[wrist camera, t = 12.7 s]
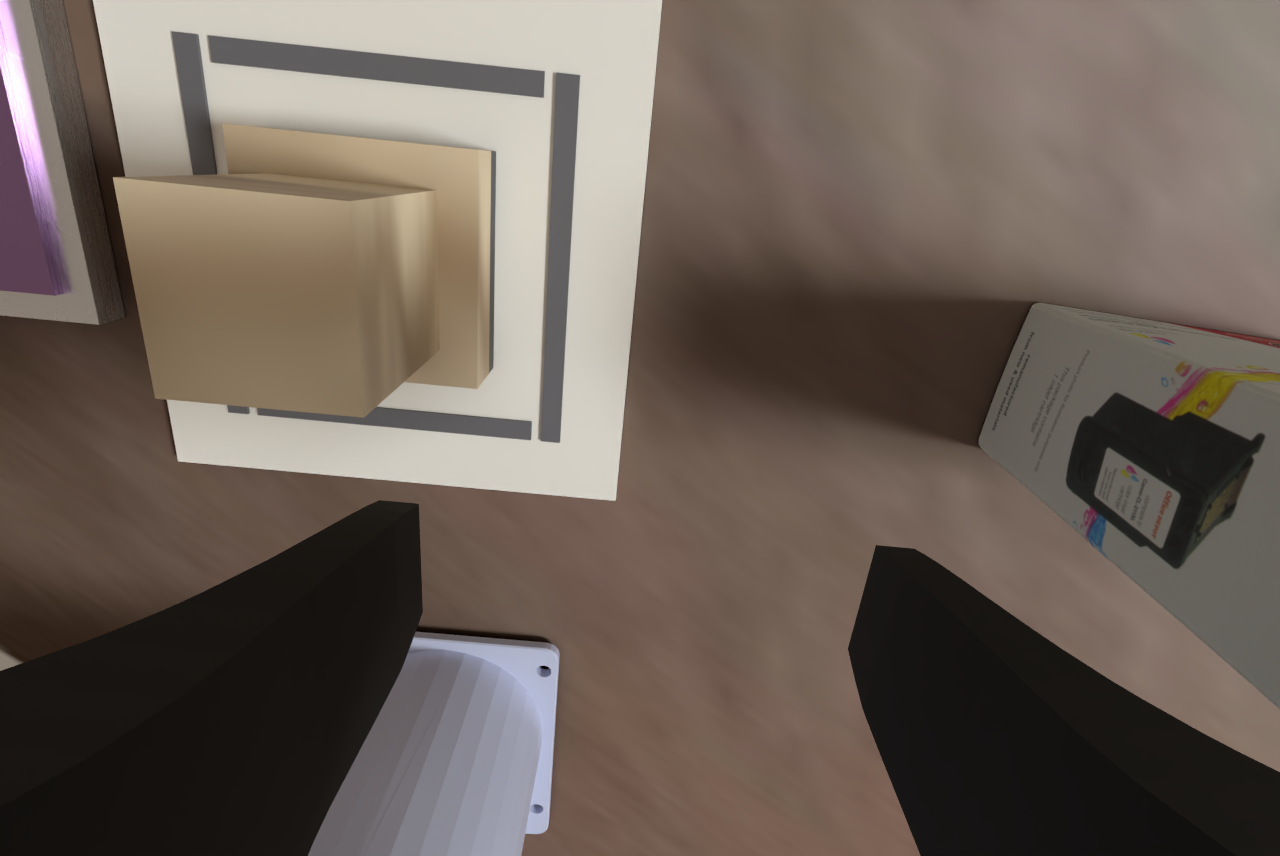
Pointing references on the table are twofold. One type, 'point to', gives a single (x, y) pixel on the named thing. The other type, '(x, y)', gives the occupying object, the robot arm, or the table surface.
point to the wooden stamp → (315, 271)
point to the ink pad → (49, 178)
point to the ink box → (1157, 463)
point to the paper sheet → (447, 116)
